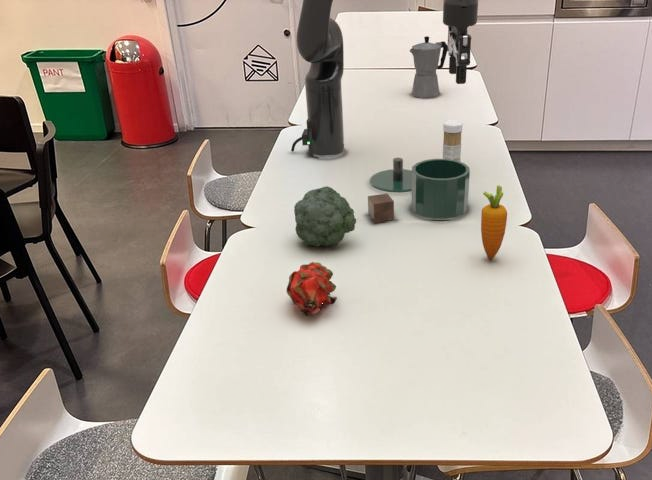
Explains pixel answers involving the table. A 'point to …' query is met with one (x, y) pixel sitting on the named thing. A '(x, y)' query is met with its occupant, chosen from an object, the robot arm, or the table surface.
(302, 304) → the dragon fruit
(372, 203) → the block
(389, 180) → the lid
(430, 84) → the coffeepot
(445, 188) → the pot
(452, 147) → the sprinkles bottle
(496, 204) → the carrot
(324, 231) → the vegetable
